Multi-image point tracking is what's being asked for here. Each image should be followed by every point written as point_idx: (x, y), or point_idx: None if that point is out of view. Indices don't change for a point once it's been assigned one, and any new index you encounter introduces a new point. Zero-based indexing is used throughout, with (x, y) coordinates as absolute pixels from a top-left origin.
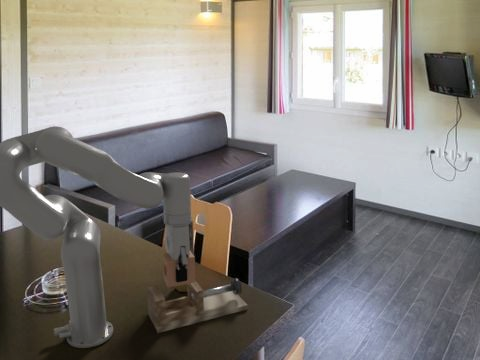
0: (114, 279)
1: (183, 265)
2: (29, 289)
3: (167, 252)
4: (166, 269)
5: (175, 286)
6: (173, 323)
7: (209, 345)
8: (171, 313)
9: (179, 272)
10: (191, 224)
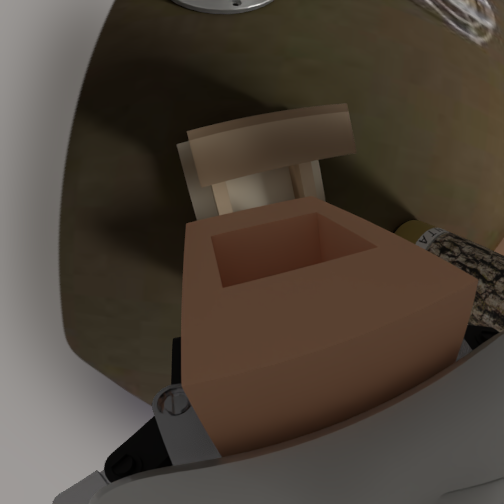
0: (468, 76)
1: (81, 486)
2: None
3: (454, 377)
4: (334, 244)
5: (414, 221)
6: (196, 201)
7: (97, 300)
8: (216, 200)
9: (173, 380)
10: None
